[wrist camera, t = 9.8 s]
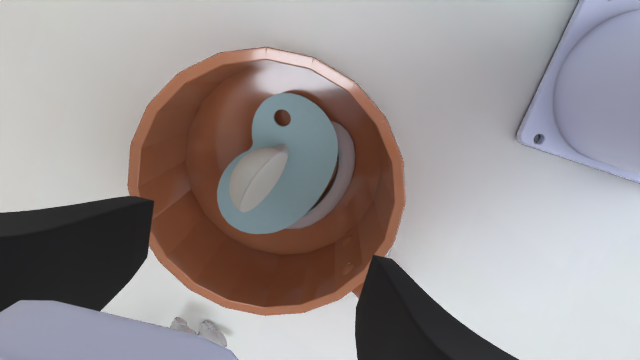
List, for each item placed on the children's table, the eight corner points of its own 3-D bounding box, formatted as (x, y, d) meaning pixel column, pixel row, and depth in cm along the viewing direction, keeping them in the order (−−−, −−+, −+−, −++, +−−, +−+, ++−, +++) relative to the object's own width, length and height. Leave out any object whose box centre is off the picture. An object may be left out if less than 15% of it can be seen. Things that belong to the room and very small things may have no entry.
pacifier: (378, 136, 20) (278, 76, 19) (401, 166, 14) (255, 80, 13) (308, 245, 22) (214, 194, 21) (301, 313, 16) (169, 245, 15)
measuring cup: (139, 155, 21) (73, 183, 16) (287, 5, 19) (266, -22, 13) (325, 337, 24) (322, 412, 18) (476, 225, 21) (522, 276, 16)
